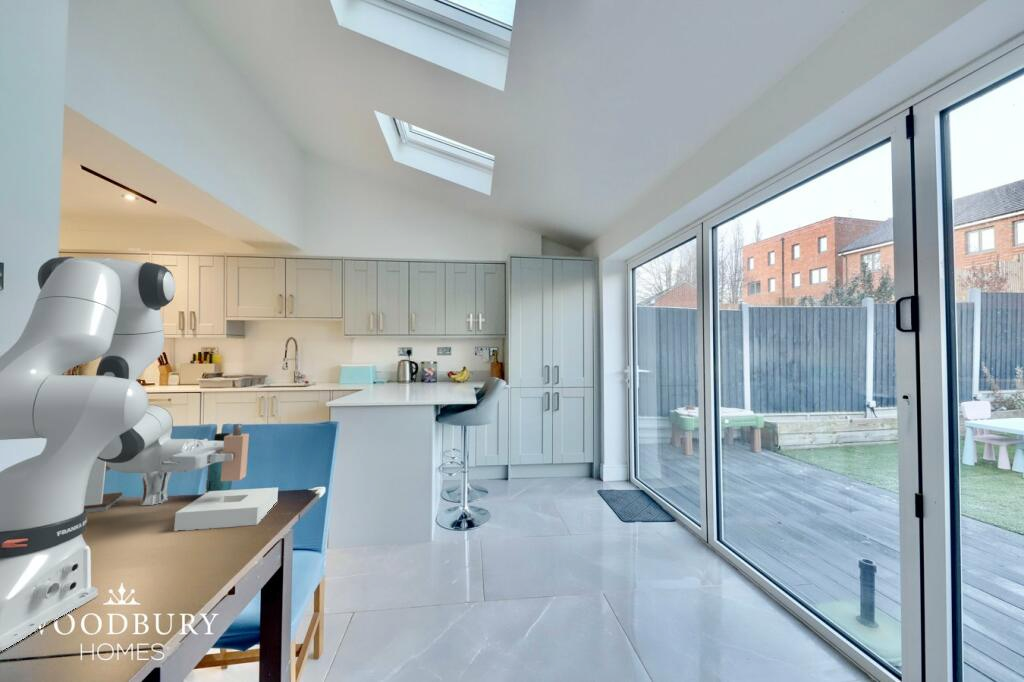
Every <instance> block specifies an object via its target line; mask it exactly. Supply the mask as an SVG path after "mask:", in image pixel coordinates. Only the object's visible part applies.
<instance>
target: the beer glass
mask: <svg viewBox="0 0 1024 682" xmlns="http://www.w3.org/2000/svg"><path fill="white" fill-rule="evenodd" d="M171 474H172V472H169V473H165V472H160V471H155V472H151V473H141V482H142V489H143V490H142V491H143V492H142V497H141V501H140V504H139V505H140V506H142V505H151V506H154V505H153V504H157V505H159V504H158V503H161V504H164V503H166V502H168V501H169V500H168V498H169V497H168V485H169V481H170V478H171ZM167 497H168V498H167ZM165 501H166V502H165ZM163 502H164V503H163Z"/></svg>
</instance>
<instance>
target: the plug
mask: <svg viewBox="0 0 1024 682" xmlns="http://www.w3.org/2000/svg"><path fill="white" fill-rule="evenodd" d="M242 429H243V424H242V423H233V426H232V433H230V435H227V436H225V437H224V446H223V454H227V453H235V458H234V459H233V460H231V461H222V471H221V481H232V482H236V481H241V480H242V479H244V478H245V477H246V476H247V466H248V453H249V452H248V450H249V440H250V439H249V438H250V433H242V431H243V430H242Z"/></svg>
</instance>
